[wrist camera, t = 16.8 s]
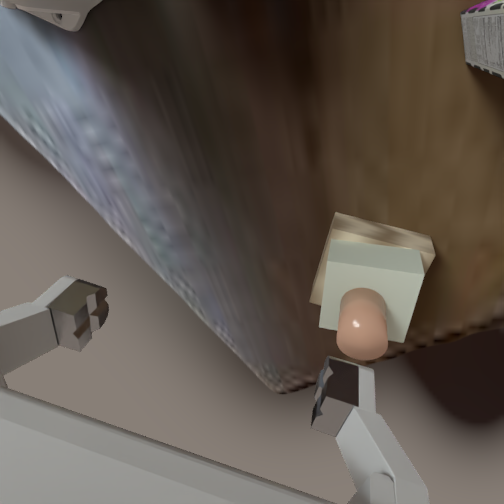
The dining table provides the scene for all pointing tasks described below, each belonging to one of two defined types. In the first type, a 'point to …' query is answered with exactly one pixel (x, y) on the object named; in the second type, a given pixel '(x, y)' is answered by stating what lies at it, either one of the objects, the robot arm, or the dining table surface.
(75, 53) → the dining table surface
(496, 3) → the candy bar box
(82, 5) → the robot arm
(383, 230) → the tower base block
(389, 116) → the dining table surface
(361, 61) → the dining table surface
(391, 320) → the tower top block
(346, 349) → the terracotta cylinder
